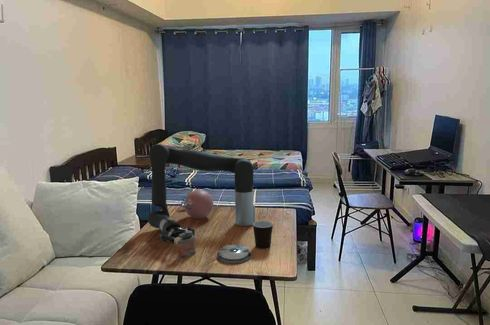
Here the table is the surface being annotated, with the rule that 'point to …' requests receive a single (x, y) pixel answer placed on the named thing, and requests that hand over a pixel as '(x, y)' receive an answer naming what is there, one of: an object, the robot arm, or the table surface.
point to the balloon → (198, 204)
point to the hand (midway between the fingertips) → (183, 239)
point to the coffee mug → (262, 234)
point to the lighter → (186, 245)
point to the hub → (233, 254)
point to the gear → (183, 199)
